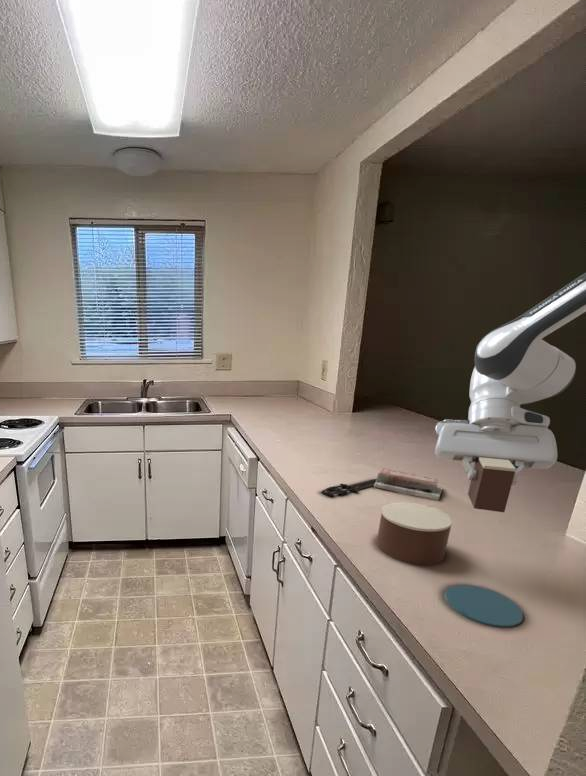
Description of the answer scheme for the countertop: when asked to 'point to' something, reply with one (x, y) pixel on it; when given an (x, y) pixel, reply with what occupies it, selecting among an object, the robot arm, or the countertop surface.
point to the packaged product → (408, 484)
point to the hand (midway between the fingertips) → (491, 481)
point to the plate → (484, 606)
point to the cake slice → (491, 484)
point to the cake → (413, 532)
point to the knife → (348, 488)
